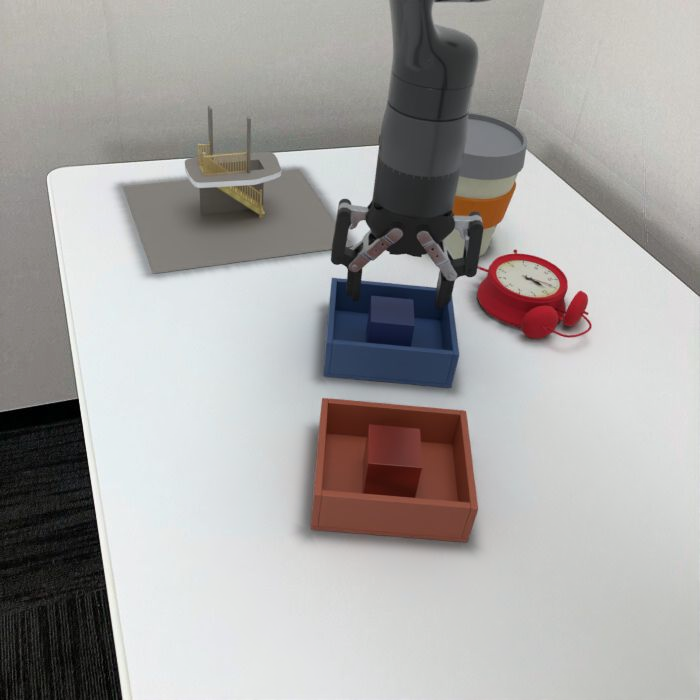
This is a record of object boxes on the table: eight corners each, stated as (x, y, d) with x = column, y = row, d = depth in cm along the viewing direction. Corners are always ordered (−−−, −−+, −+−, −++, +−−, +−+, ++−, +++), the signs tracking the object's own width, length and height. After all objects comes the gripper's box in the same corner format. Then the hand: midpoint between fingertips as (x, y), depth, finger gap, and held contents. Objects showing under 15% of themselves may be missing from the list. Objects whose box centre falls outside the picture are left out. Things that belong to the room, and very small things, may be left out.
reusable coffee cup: (401, 258, 97) (419, 147, 87) (411, 209, 106) (428, 104, 97) (501, 275, 96) (530, 165, 86) (501, 224, 106) (528, 120, 96)
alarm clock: (522, 240, 96) (621, 280, 85) (518, 286, 99) (613, 330, 88) (458, 261, 91) (554, 305, 80) (456, 308, 94) (548, 358, 83)
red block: (412, 462, 70) (420, 428, 67) (414, 502, 67) (422, 467, 64) (363, 458, 70) (368, 424, 67) (362, 497, 67) (368, 463, 64)
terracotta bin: (457, 444, 73) (466, 410, 70) (467, 542, 65) (478, 508, 62) (318, 431, 73) (322, 397, 70) (310, 529, 64) (314, 494, 61)
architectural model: (352, 246, 98) (364, 142, 89) (153, 273, 89) (143, 161, 80) (299, 168, 112) (304, 72, 103) (122, 186, 104) (112, 83, 95)
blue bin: (444, 320, 88) (451, 288, 85) (451, 388, 79) (459, 354, 76) (328, 309, 87) (331, 277, 84) (323, 376, 79) (326, 342, 76)
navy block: (407, 332, 85) (413, 299, 82) (408, 359, 81) (414, 325, 79) (366, 328, 85) (371, 295, 82) (365, 355, 81) (370, 321, 78)
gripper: (339, 165, 66) (325, 316, 76) (504, 181, 66) (469, 329, 76) (342, 128, 71) (329, 274, 82) (494, 143, 72) (462, 286, 82)
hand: (397, 300), depth 79 cm, fingers open, 8 cm apart
